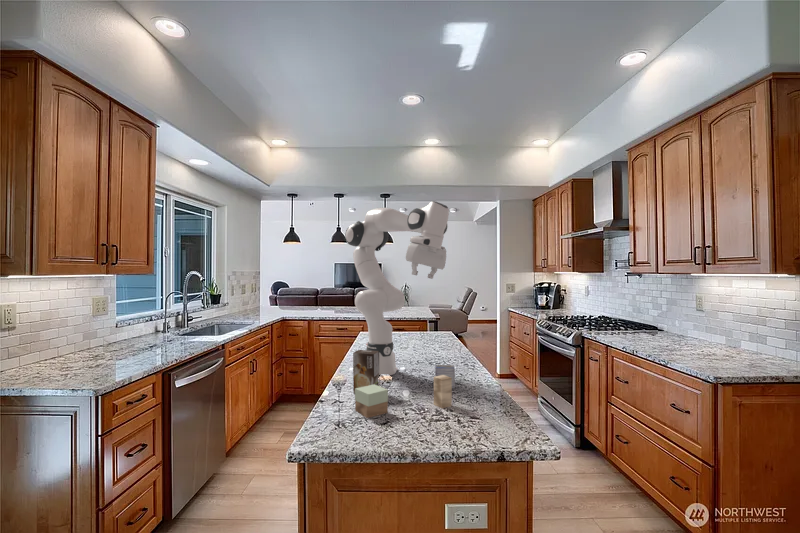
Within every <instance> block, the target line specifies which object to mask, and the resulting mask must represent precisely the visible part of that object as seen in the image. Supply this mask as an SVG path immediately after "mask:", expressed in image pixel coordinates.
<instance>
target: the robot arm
mask: <svg viewBox="0 0 800 533" xmlns="http://www.w3.org/2000/svg"><path fill="white" fill-rule="evenodd" d="M449 212H450V210H449V207H448V206H447V205H445V204H443V203H440V202H437V201H434V200H433V201H430V202H429V203H428V204H427V205H426V206H423V207H419V208H414V209H411V211H410V212H409V213H408V214H406V213H404V212H401V211H399V210H396V209H394V208H390V207H377V208H372V209H370V210H368V211H367V212H366V214H365V217H364V220H363V221H362V222H361V221H360V220H357V221H356V222H355V223H353V224H351V225H349V226H348V227H347V228H346V230H345V233H344V234H345V240H346V241H345V242H346V243H347V244H348V245H350V246H353V247H355V249H354V250H353V252H352V257H353V262H354V267H355V270H356V273H357V274H358V278H359V280H360V283H361V284H362V285H363V286H364V287H366V288H367V289H365V290H362V291H359V292H357V293H356V295H355V298H354V305H355V308H356V310H357V311H358V312H360V313H361V314H362V316H363V317H364V319H365V321H366V324H367V330H368V332H367V333H368V334H367V335H368V342H367V343H365V346H366V348H365V349H366V350H370V351H379V375H381V374H389V376H392V375H395V374H396V373H397V371H398V370H399V369H398V367H397V364H396V363H397V361H396V353H395V352H394V351H393V350H394V341H393V326H392V324H391V323H390V322H389V321H388V320H386V319H385V318H384V313H390V312H392V313H393V312H396V311H398V310H400V309H402V308H403V307H404V305H405V301H406V298H405V294H404V292H403V291H402V290H400V289H398V288H397V287H395V286H394V285H393V284H392V283H390V282H389V280H388V279H387V278H386V277H385V274H384V273H383V270H382V269H381V266H380V265H379V261H378V260H377V257H376V254H375V253H376V252H379V251H381V249H382V248H383V247H384V246H386V244H387V242H388V240H389V233H391V232H392V233H393V232H410V233H411V232H415V233H419V234H421V235H415V236H413V235H412V236H411V237H410V240H409V242H410V243H409V245H408V247H407V250H406V253H405V260H406V261H407V262H409V263H411V264H410V265H411V269H412V270H411V275H413V276H418V273H419V271H417V270H418V269H417V267H418V266H419V265H421V266H426V267H431V268H430V270H431V271H430V272H429V273H428V274H427V279H431V280H433V279H434V276H435V275H436V274H437V271H438V269H439V270H444V268H445V266H446V261H447V249H446V248H445V246H442V245H443V240H444V235H445V234H446V232H447V231H448V221H449V215H450V213H449Z"/></svg>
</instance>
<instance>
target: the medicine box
mask: <svg viewBox="0 0 800 533" xmlns="http://www.w3.org/2000/svg"><path fill="white" fill-rule="evenodd" d="M455 368H456V367H455V364H435V367H434V370H435V371H434V374H435V376H440V375H445V376H448V377H451V378H452V390H453V389H455V388H456V386H455V385H456V383H455V381H456V378H455V377H456V373H455V372H456V370H455ZM435 376H434V377H435Z"/></svg>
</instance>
